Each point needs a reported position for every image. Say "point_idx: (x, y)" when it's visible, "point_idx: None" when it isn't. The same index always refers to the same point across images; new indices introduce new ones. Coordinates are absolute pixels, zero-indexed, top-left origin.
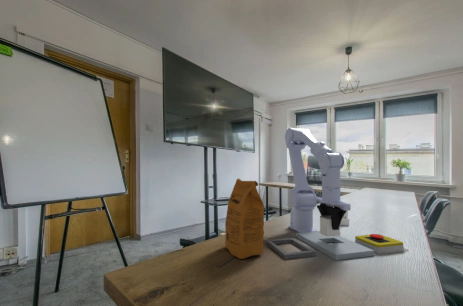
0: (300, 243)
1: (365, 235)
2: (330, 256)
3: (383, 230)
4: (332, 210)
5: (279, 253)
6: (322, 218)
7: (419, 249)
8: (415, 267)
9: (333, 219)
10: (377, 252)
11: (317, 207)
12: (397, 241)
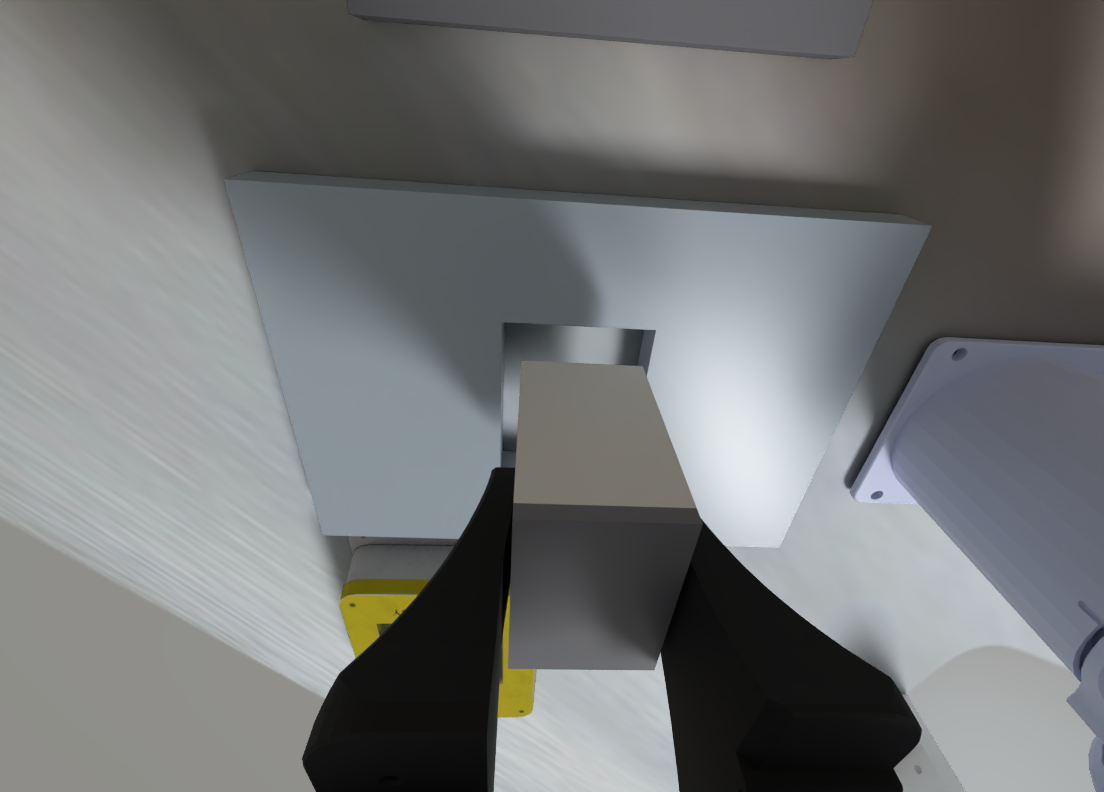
0: (645, 7)
1: None
2: (329, 178)
3: (652, 772)
4: (351, 701)
5: None
6: (632, 498)
7: None
8: (169, 564)
9: (448, 559)
10: (357, 550)
11: (871, 675)
12: None
